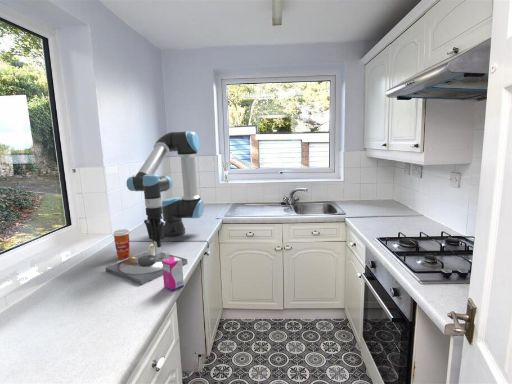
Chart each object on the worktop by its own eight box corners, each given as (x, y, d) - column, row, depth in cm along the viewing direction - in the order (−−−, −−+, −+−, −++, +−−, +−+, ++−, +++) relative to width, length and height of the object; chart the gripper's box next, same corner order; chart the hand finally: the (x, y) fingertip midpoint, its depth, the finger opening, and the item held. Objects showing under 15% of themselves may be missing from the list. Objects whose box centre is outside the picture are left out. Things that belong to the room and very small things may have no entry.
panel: (152, 253, 157) (152, 248, 157) (187, 263, 143) (187, 258, 143) (105, 271, 136) (105, 266, 136) (141, 284, 122) (140, 279, 121)
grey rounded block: (153, 265, 135) (152, 253, 134) (135, 265, 135) (134, 254, 134) (162, 253, 150) (161, 243, 149) (146, 253, 150) (145, 243, 149)
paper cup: (114, 260, 149) (111, 234, 146) (117, 255, 156) (114, 229, 154) (130, 258, 151) (128, 232, 148) (132, 253, 158) (130, 228, 156)
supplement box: (175, 281, 124) (173, 255, 122) (184, 285, 120) (182, 259, 118) (163, 287, 119) (161, 260, 118) (172, 291, 116) (170, 263, 114)
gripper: (138, 207, 142) (142, 253, 146) (157, 209, 137) (161, 257, 140) (150, 204, 149) (154, 249, 153) (169, 205, 143) (173, 252, 147)
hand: (158, 253), depth 146 cm, fingers closed
